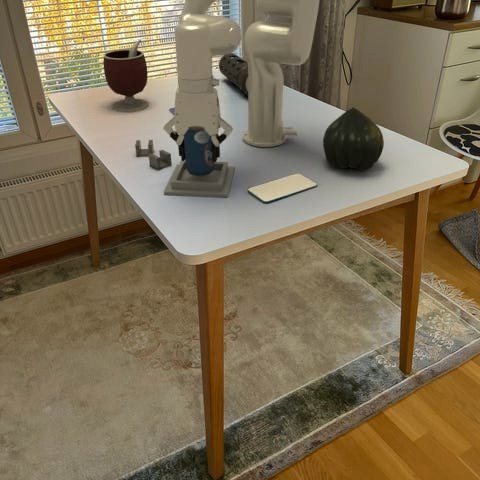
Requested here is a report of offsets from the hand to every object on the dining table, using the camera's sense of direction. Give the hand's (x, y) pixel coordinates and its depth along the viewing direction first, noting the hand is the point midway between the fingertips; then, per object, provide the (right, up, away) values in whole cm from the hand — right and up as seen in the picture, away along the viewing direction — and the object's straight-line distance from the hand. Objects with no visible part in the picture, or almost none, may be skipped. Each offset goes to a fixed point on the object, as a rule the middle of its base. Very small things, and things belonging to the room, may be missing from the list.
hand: (199, 158), depth 115 cm
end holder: (0, -5, +3) cm, 6 cm away
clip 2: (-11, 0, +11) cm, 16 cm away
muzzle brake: (+11, +37, +66) cm, 76 cm away
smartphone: (+20, -8, 0) cm, 21 cm away
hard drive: (-8, +21, +43) cm, 48 cm away
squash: (+38, 0, +11) cm, 40 cm away
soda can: (0, -3, +2) cm, 4 cm away
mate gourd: (-27, +27, +51) cm, 64 cm away
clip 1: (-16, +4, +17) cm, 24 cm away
